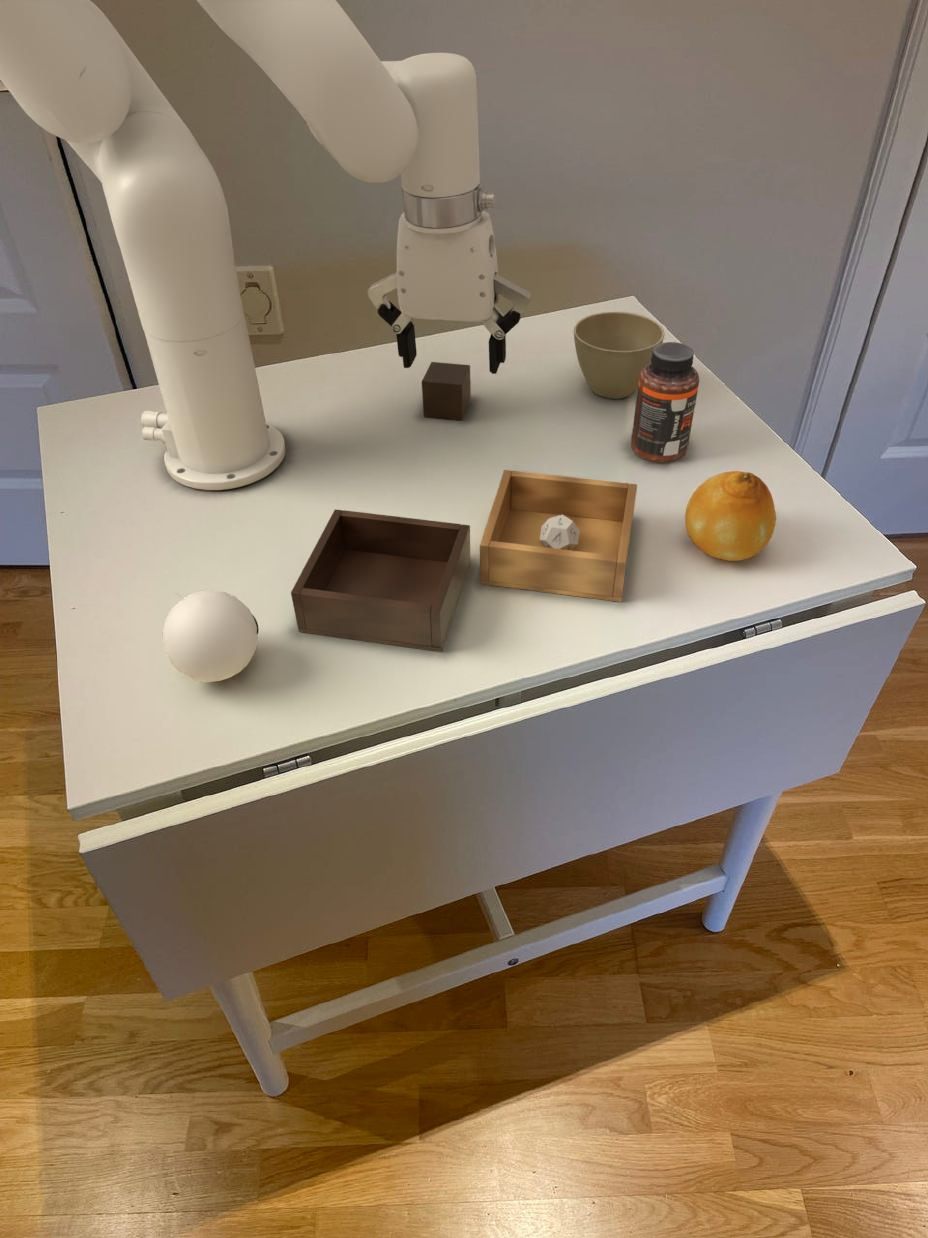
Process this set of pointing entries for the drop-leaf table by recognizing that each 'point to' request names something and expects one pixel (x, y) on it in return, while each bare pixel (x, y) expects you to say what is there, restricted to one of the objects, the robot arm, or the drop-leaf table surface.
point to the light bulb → (210, 636)
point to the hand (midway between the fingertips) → (452, 364)
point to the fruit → (731, 516)
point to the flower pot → (615, 350)
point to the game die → (559, 533)
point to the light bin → (531, 566)
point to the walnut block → (446, 391)
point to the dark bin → (383, 580)
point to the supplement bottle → (665, 403)
